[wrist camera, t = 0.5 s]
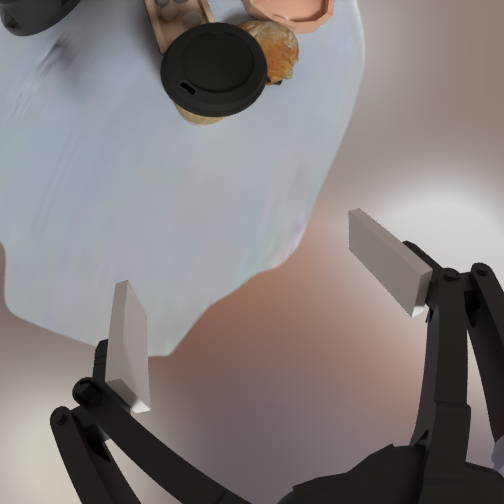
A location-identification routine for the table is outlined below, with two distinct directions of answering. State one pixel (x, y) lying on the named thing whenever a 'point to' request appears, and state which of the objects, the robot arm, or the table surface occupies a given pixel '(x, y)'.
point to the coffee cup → (213, 72)
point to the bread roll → (275, 48)
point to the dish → (292, 13)
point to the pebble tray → (176, 18)
